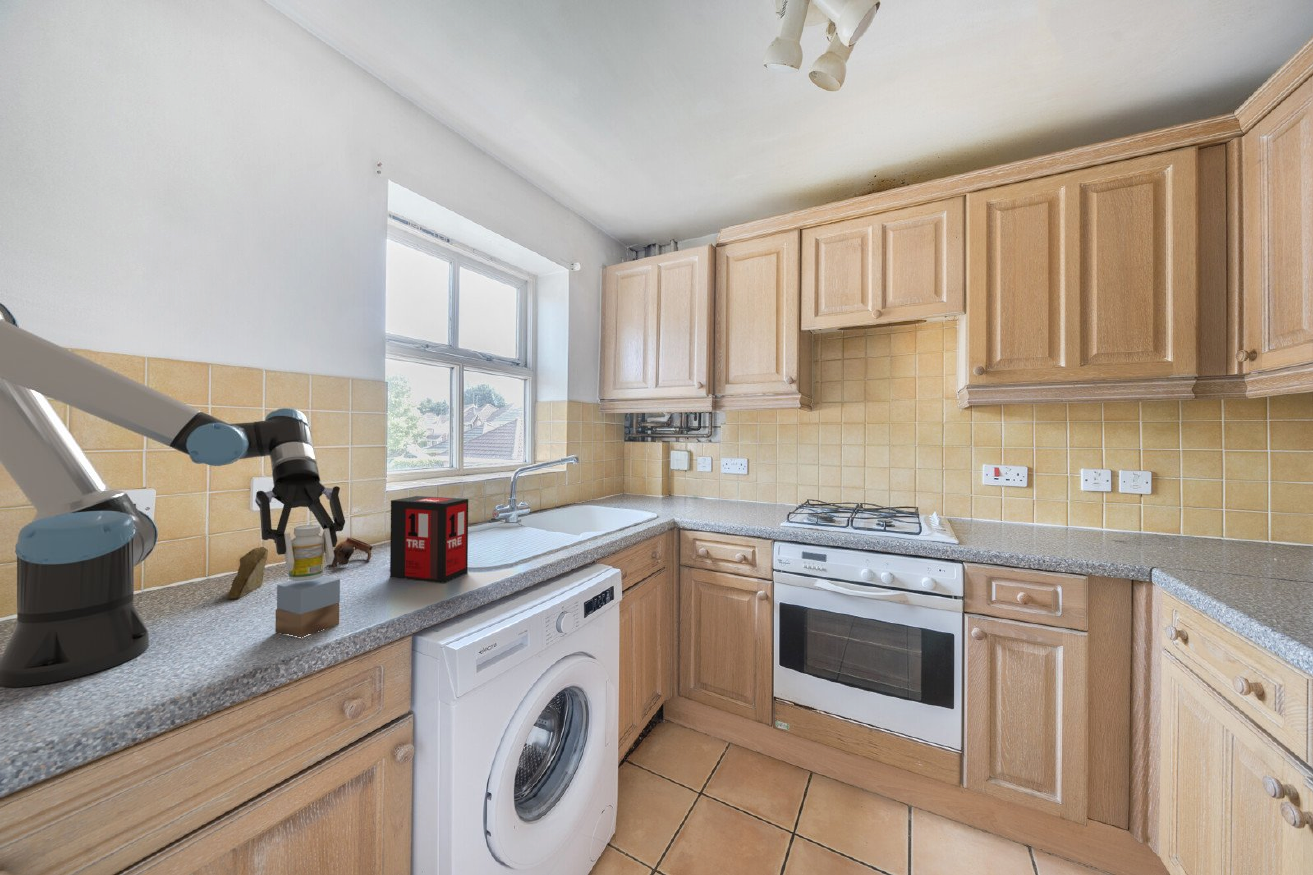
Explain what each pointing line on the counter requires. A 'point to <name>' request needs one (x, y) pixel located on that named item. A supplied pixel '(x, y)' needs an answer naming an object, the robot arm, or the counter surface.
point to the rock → (249, 573)
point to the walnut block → (306, 621)
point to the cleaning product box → (429, 538)
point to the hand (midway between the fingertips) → (311, 563)
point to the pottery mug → (349, 551)
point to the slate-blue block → (308, 594)
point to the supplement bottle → (307, 553)
